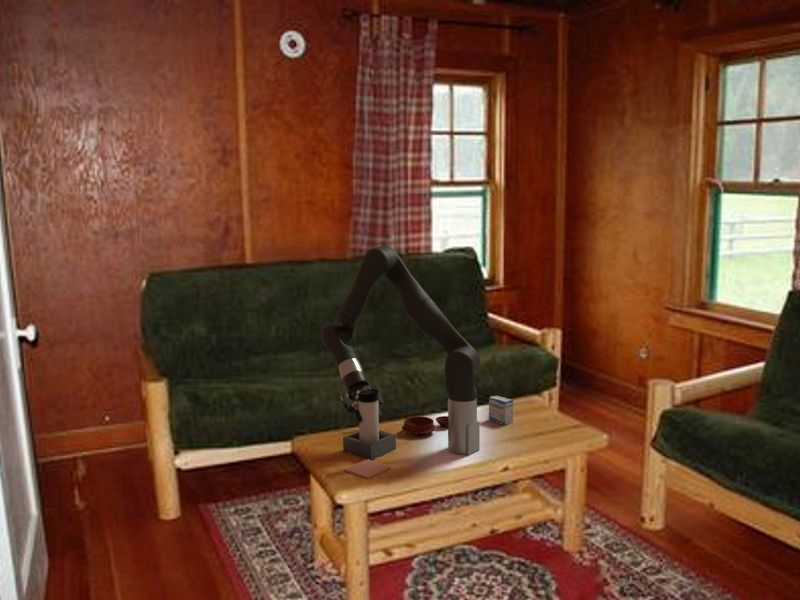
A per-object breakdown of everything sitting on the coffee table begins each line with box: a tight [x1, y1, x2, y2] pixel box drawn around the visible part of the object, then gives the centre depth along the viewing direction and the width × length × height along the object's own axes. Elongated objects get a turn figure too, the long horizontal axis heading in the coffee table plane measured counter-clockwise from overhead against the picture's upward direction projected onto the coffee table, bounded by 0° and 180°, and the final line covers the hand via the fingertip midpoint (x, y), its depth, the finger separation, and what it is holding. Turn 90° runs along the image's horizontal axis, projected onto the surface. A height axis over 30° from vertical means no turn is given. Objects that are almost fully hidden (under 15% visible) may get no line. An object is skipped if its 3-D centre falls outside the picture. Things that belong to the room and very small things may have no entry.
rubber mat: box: [343, 459, 392, 480], centre depth 216 cm, size 10×10×1 cm
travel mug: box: [358, 388, 380, 443], centre depth 230 cm, size 6×7×20 cm
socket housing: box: [342, 429, 397, 461], centre depth 231 cm, size 12×12×5 cm
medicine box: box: [488, 395, 514, 426], centre depth 257 cm, size 8×4×9 cm, turn 43°
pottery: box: [401, 415, 448, 437], centre depth 249 cm, size 12×20×4 cm, turn 122°
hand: (370, 419), depth 229 cm, fingers closed on travel mug, 6 cm apart
